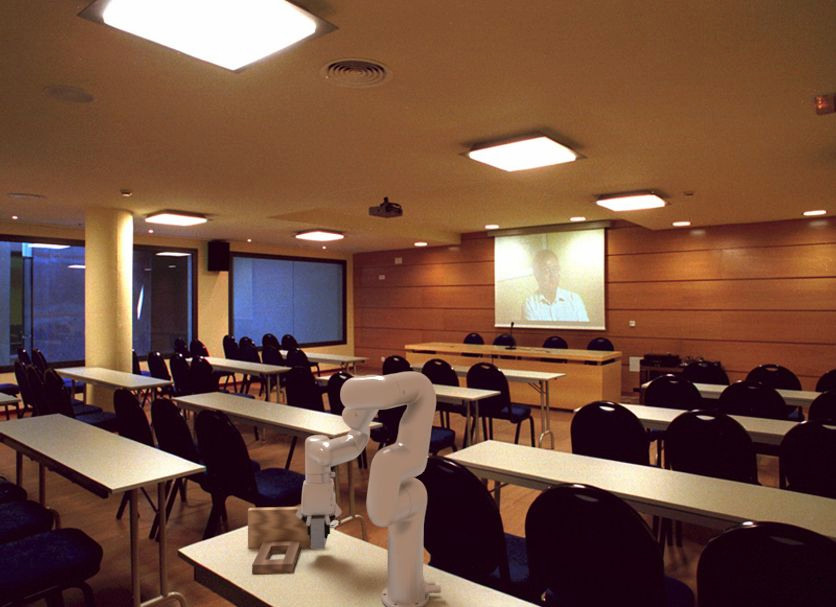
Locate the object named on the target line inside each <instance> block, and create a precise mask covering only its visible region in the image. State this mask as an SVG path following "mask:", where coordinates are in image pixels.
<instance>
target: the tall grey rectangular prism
mask: <svg viewBox="0 0 836 607" xmlns="http://www.w3.org/2000/svg"><path fill="white" fill-rule="evenodd" d="M325 524H326V519H325V515H319V516H312V517H311V546H310V550H325V549H326V545H327V542H328V541H327V540H328V538H325Z"/></svg>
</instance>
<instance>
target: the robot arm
mask: <svg viewBox="0 0 836 607" xmlns="http://www.w3.org/2000/svg"><path fill="white" fill-rule="evenodd" d="M339 396H340V401H341V403H342V405H343V406H344V408H343V410H342V413H341V417H342V420H343V422H344V423H345V425H346V426H348V427H349V428H350V430H349V431H348V433H347V434H346V435H343V436H340V437H335V438H332V439H331V438H329V437H328V436H327V435H324V434H314V435H311V436H308V437H307V438H306V439H305V442H304V457H305V458H304V460H305V461H304V463H305V467H304V468H305V480H303V483H302V484H303V485H302V488H301V489H302V490H301V504H300V506H299V507H300V508H299V509H298V511H297V512H296V516H297V517H298V518H300V519H302V520H303V521H304V522H305V523H306V525H307V527H308V535H310V539H311V517H312V516H319V515H325V519H326V524H325V538H327V539H328V538H329V535H330V534H331V528H330V523H331V522H332V521H333V520H336V518H338V517H339V516H340V515H342V512H343V511H342V509H341V508H340V507H339V505H338V504H337V502H336V501H337V500H336V498H337V497H336V490H335V483H334V479H333V478H335V477H336V472H333V471H332V470H331V468H332V467H335V466H337V465H340V464H343V463H347V462H349V461H352V460H355V459H356V458H357V457H359V455H361V453H363V451H364V449H365V447H366V446H367V445H368V443H369V440H370V438H371V437H370V435H371V428H370V424H371V422H373V420H374V418H375V417H376V415H377V414H378V412H379V410H388V409H393V408H397V407H401V406H405V405H406V406H407V407H406V409H405V410H404V412H403V414H402V417H401V419H400V421H399V425H398V433H397V438H396V440H395V442H394V443H393V444H390V445H387V446H385V447H382V448H380V449H379V450H378V451H377V452H376V453H375V455H374V457H373V458H372V461H371V465H370V470H369V478H368V485H367V494H366V500H365V501H366V503H365V505H366V507H365V508H366V513H367V515H368V519H369V520H370V522H371V523H372V524H373V525H375V526H376V527H378V528H387V575H386V576H387V581H386V582H387V584H386V585H387V586H386V587H385V588H384V589H383V590H382V591H381V601H382V603H383V604H384V605H385V607H424V606H426V605H427V603H428V602H429V599H430V594H441V592H442V588H441V586H442V585H441V584H436V581H433V580H431V581H427V580H425V576H424V529H425V528H424V525H425V524H424V523H425V516H426V511H427V505H428V492H427V488H426V486H425V485H424V483H423V482H422V481H421V480H419V479H418V478H416V477H417V476H419V475H421V474H423V472H425V469H426V468H427V463H428V457H429V450H430V443H431V436H432V434H431V433H432V427H433V423H434V422H433V421H434V419H435V418H434V417H435V412H436V406H437V395H436V390H435V388H434V385H433V383H432V381H431V380H430V379H429V378H428V376H426V375H425V374H423V373H421V372H419V371H401V372H397V373H396V372H395V373H390V374H385V375H378V374H367V375H360V376H354V377H351V378H348V379H347V380H346V381H345V382H344V383H343V384H342V386H341V388H340V394H339Z"/></svg>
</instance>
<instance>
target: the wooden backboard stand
mask: <svg viewBox="0 0 836 607" xmlns="http://www.w3.org/2000/svg"><path fill="white" fill-rule="evenodd" d="M299 508H300V506H277V507H274V506H273V507H270V506H269V507H249V508H248V510H247V548H249V549H252V548H253V549H255V548H259V550H258V553H257V554H256V556H255V558H254V559H253V563H252V564H251V573H252V574H254V575H255V574H281V573H282V574H283V573H286V574H287V573H293V572H294V569H295V566H296V563H297V559H298V557H299V554H300V550H301V547H311V539H310V535H308V527H307V525H306V523H305V522H304V521H303V520H302V519H300V518H298V517H297V516H296V512H297V511H298V509H299ZM272 554H273V555H275V554H276V555H277V554H279V555H280V554H285V555H284V556H283V557H284V558H282V559H281V558H279V559H277V558H276V559H270V557H271V555H272Z"/></svg>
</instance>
